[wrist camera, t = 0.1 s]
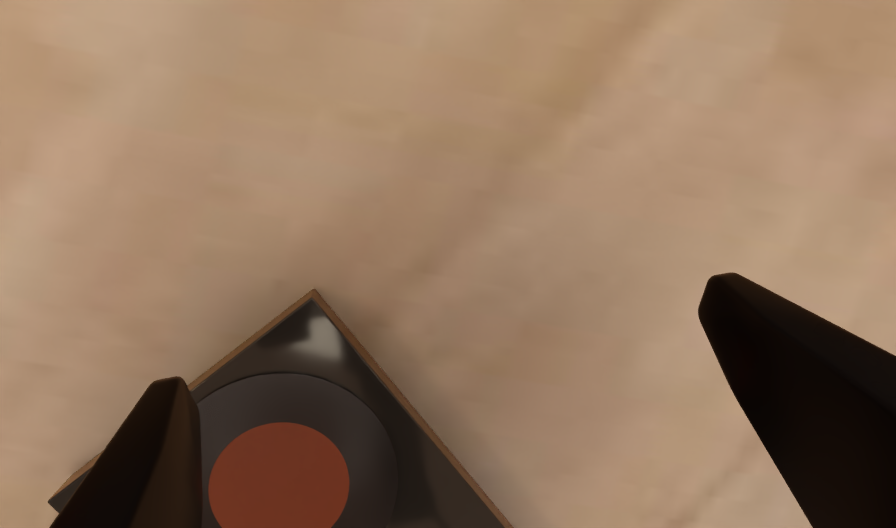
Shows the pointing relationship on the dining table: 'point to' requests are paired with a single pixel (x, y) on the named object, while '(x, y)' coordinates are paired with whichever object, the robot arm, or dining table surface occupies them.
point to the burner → (294, 456)
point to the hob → (348, 364)
